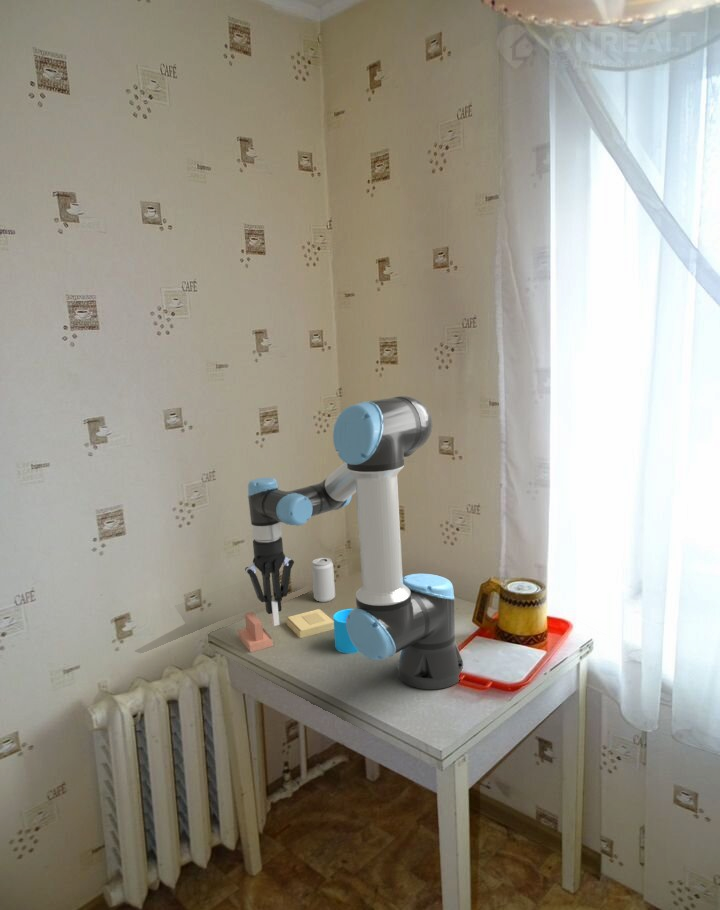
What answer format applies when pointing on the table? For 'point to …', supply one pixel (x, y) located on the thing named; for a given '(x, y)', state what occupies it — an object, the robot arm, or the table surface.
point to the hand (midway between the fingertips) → (275, 623)
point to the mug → (342, 632)
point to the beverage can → (323, 579)
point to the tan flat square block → (310, 623)
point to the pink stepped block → (254, 634)
